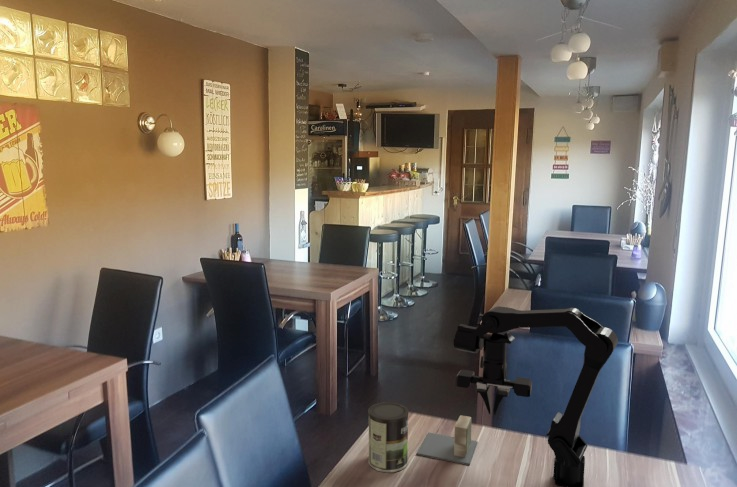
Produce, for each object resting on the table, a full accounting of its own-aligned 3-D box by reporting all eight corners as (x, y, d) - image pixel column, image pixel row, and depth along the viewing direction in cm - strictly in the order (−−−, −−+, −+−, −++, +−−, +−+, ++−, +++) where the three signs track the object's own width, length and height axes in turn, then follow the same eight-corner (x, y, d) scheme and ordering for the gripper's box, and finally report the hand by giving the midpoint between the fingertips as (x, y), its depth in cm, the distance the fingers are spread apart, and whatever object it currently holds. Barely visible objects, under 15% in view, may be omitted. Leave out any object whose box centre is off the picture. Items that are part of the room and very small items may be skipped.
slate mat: (477, 443, 149) (477, 441, 149) (469, 465, 138) (469, 463, 138) (428, 434, 154) (428, 432, 154) (416, 454, 143) (416, 452, 143)
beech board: (471, 444, 147) (471, 417, 146) (466, 457, 141) (467, 428, 140) (459, 442, 148) (460, 415, 147) (454, 455, 142) (454, 426, 141)
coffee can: (410, 453, 144) (410, 403, 142) (405, 475, 134) (405, 421, 132) (372, 449, 146) (372, 400, 144) (364, 470, 136) (364, 417, 134)
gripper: (534, 351, 142) (532, 407, 144) (464, 342, 149) (462, 396, 151) (531, 365, 132) (528, 425, 134) (455, 355, 138) (454, 413, 141)
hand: (492, 414), depth 140 cm, fingers closed
